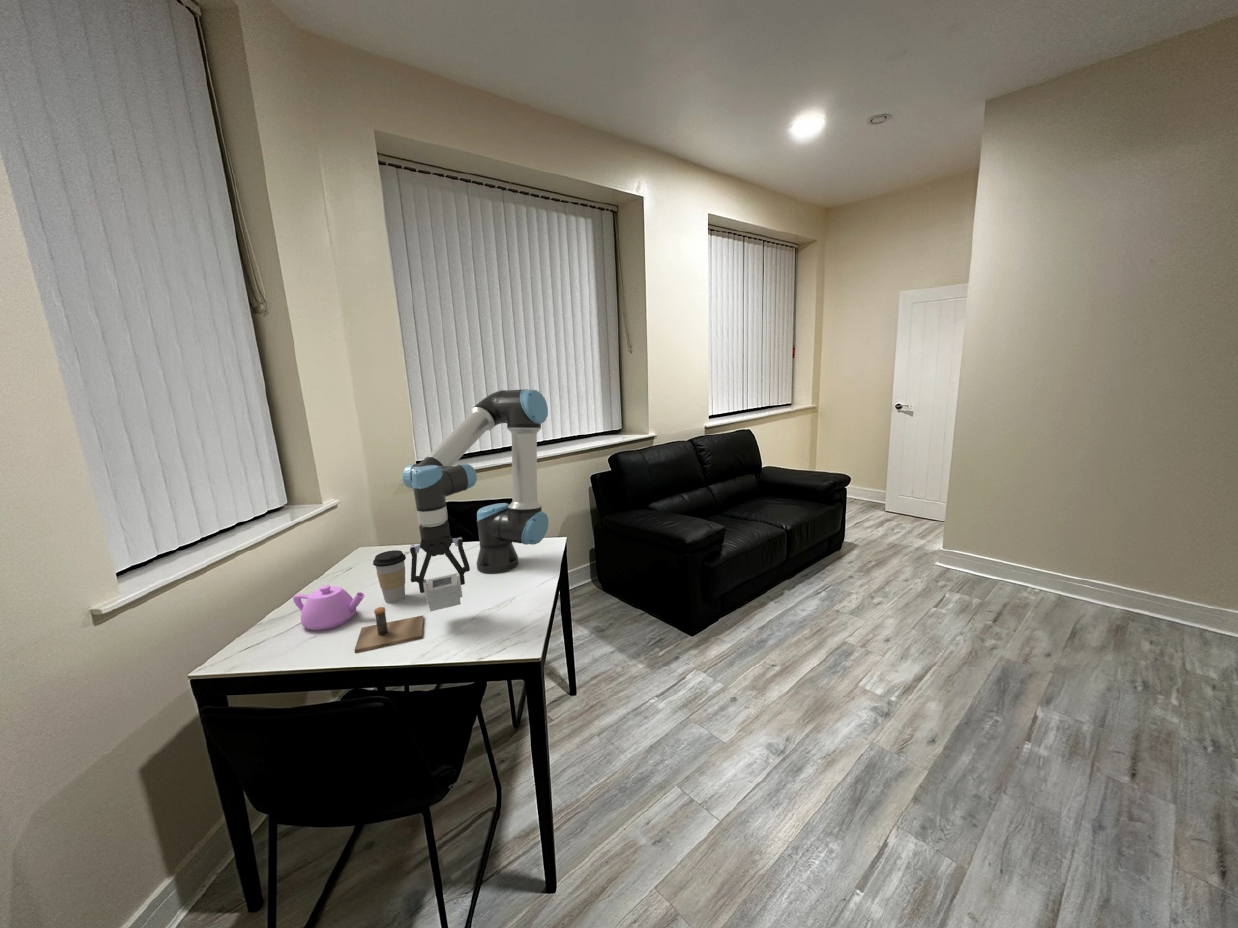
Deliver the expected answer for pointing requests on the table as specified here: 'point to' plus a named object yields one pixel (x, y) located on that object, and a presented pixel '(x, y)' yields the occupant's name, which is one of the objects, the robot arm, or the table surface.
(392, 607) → the table surface
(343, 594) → the teapot
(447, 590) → the hollow square block
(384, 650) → the table surface
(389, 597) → the coffee cup
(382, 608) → the keeper
